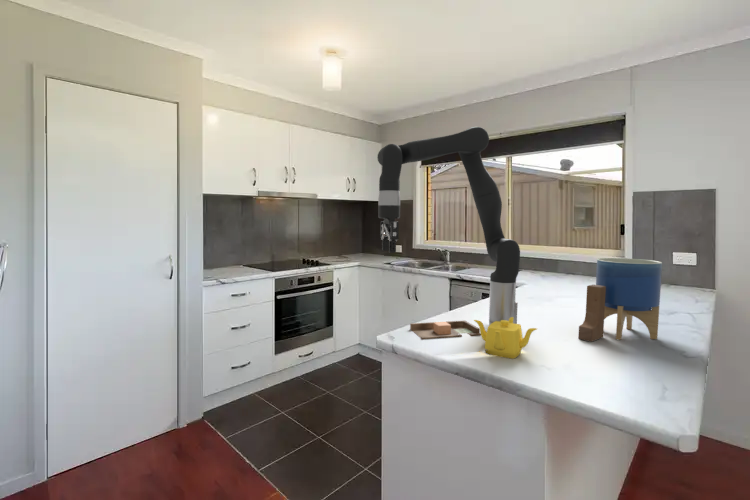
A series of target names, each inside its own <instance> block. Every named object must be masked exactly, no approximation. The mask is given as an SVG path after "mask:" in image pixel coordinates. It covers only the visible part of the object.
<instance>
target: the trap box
mask: <svg viewBox="0 0 750 500" xmlns="http://www.w3.org/2000/svg"><path fill="white" fill-rule="evenodd" d="M434 322H435V321H432V322H431V321H430V322H428V321H427V322H414V323H413V322H411V323H409V325H410V326H409V328H410V331H412V332H413V333H414V334H415V335H416V336H418V337H419V338H420V339H421V340H431V339H432V340H433V339H446V338H447V339H449V338H461V337H463V336H462V334H467V335H469V336H470V337H477V336H479V337H480V336H481V333H480V328H479V326H477V325H474V324H472V323H470V322H469V321H467V320H463V319H462V320H450V321H449V320H448V321H445V322H447V323H449V324H450V325H451V334H439V335H438V334H437V333H436V332H434V331H433V328H434Z"/></svg>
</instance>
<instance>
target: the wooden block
mask: <svg viewBox="0 0 750 500" xmlns="http://www.w3.org/2000/svg"><path fill="white" fill-rule="evenodd" d="M605 294H606V286H601V285H596V284H590V285H586V298H585V299H586V301H585V302H586V303H585V314H584V315H585V316H584V320H583V322H582V324H580V325H579V326H578V339H579V340H582V341H587V342H590V343H591V342H592V343H593V342H594V341H597V340H600V339H602V338H604V330H605V327H604V326H605V319H604V312H605Z"/></svg>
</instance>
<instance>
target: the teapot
mask: <svg viewBox="0 0 750 500" xmlns="http://www.w3.org/2000/svg"><path fill="white" fill-rule="evenodd" d="M513 319H514V318H513V317H511V318H509V321H507V320H501V321H495V322H493V323H492V324H490V325H489V324H488V326H487V330H486V329H485V326H484V324H483V322H482V321H480V320H479V319H478V320H477V319H473V321H474V322H475V323H477V325H478V328H479V329H480V333H481V335H480V336H481V338H482V340H483V341H484V342H485V343H484V349H485V350H484V351H485V354H486V355H491V356H495V357H501V358H505V359H512V360H513V359H514V360H515V359H517V357H519V356H520V354H521V352H522V349H523V348H525V347H526V346H527V345H528V344H529V342H530V338H531V335H532V333H533V332H534V331H536V330H538V328H537V327H532V328H528V329H527V330H526V332H525V334H524V336H523V332H522V330H523V329H522V325H521V324H520V323H517V324H514V323H513Z"/></svg>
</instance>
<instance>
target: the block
mask: <svg viewBox="0 0 750 500" xmlns="http://www.w3.org/2000/svg"><path fill="white" fill-rule="evenodd" d="M433 322H434V328H433V331H434V332H436V333H437V334H438V335H439V334H451V325H450V324H449V323H447V322H446V321H433Z"/></svg>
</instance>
